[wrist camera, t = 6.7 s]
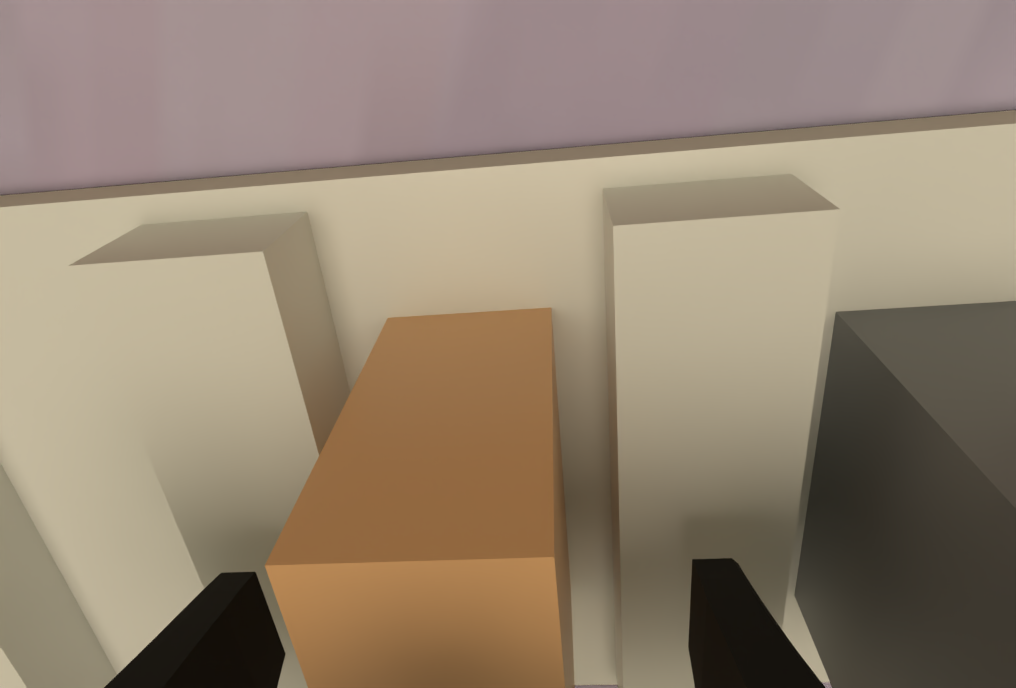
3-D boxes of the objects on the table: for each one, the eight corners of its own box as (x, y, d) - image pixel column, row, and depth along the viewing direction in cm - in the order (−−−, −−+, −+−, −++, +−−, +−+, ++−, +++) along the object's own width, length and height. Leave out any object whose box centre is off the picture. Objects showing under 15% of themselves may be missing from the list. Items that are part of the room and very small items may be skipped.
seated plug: (935, 592, 15) (1156, 931, 9) (793, 595, 15) (931, 928, 10) (1017, 300, 11) (1427, 566, 6) (836, 311, 12) (1075, 574, 6)
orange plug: (570, 586, 15) (583, 906, 10) (441, 590, 15) (384, 903, 10) (551, 307, 12) (554, 556, 7) (387, 317, 12) (263, 565, 7)
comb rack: (1059, 642, 17) (1157, 766, 14) (46, 659, 19) (-36, 767, 16) (1294, 85, 11) (1544, 117, 8) (-227, 214, 13) (-426, 271, 10)
